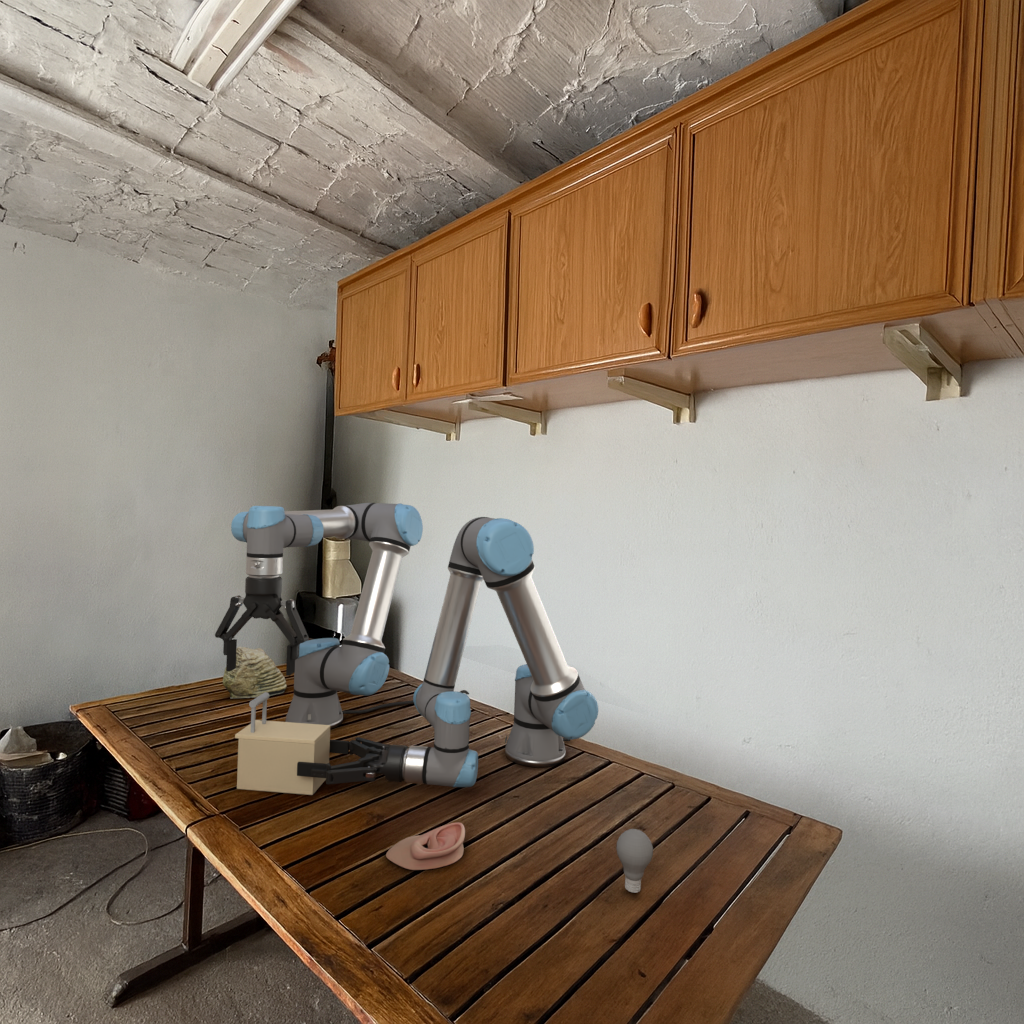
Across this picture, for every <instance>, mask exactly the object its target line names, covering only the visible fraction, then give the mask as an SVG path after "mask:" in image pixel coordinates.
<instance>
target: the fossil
mask: <svg viewBox="0 0 1024 1024" xmlns="http://www.w3.org/2000/svg"><path fill="white" fill-rule="evenodd" d="M222 676H223V677H222V685H223V687H224V688H225V690H226V691H228V693H229V698H230V699H250V698H257V697H258V696H260V695H261V694H263V693H265V692H267V693H269V697H271V696H275V695H281V694H284V693H285V691H286V689H287V687H288V686H287V680H286V678H285V676H284V674H283V673H282V672H281V669H279V668H278V667H277V665H276V663H275V662H274V660H273V659H272V658H271V657H270V656H269V655H268V654H267V653H266V652H265V650H264V649H263V648H260V647H258V648H251V647H247V646H246V647H245V646H237V648H236V668H235V669H234V670H232V671H230V672H229V671H226V667H225V668H224V671H223V675H222Z"/></svg>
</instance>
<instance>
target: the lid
mask: <svg viewBox="0 0 1024 1024" xmlns="http://www.w3.org/2000/svg"><path fill="white" fill-rule="evenodd" d="M268 699H270V696H269V693H267V692H265V693H263V694H261V695H260V696H258V697H254V699H252V700H250V701H249V704H248V705H249V707H250V708H251V709H250V723H249V724H248V725H246V726H245V727H244V728H242V729H241V730H240V731H238V732H236V733H234V738H235V739H238V740H239V739H253V740H266V741H279V742H293V743H306V744H315V743H316V742H317V741H318V740H319V739H320V738H321V737H322V736H323V735H324V734H325V733H326V732H327V731H328V730H329V729H330V725H320V724H306V723H292V722H286V721H279V720H277V721H276V720H267V711H268V710H267V708H268ZM261 704H262V713H261V715H262V716H261V719H256V717H257V715H256V714H257V713H256V712H257V707H258V706H259V705H261ZM330 730H331V729H330Z"/></svg>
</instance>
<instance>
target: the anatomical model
mask: <svg viewBox="0 0 1024 1024" xmlns="http://www.w3.org/2000/svg"><path fill="white" fill-rule="evenodd" d="M465 837H466V828H465V825H464V824H463V823H462V822H458V821H457V822H452V823H448V824H444V825H442V826H441V825H440V826H438V827H436V828H434V829H432V830H429V831H427V832H425V833H423V834H420V835H411V836H407V837H406V838H403V839H401V840H400V841H398V842H397V843H396V844H394V845H392V847H390V848H389V849H388V851H387V852H386V854H385V857H386V859H387V860H389V861H391V862H392V863H393V864H395V865H397V866H399V867H401V868H404V869H406V870H410V871H422V870H423V871H424V870H432V869H433V870H434V869H438V868H442V867H443V868H444V867H447V866H449V865H452V864H454V863H456V862H458V861H459V860H460V859H461V858H462V857H463V855H464V852H465V850H464V841H465Z"/></svg>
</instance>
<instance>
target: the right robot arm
mask: <svg viewBox="0 0 1024 1024" xmlns="http://www.w3.org/2000/svg"><path fill="white" fill-rule="evenodd" d="M534 551H535V545H534V541H533V538H532V535H531V534H530V533H529V531H528V530H527V529H526V528H525V527H524V526H523V525H522V524H520V523H518V522H516V521H514V520H511V519H508V518H502V517H498V518H494V517H488V516H477V517H474V518H471V519H469V521H467V522H466V523H465V524H464V525H463V526H461V528H460V530H459V531H458V533H457V535H456V538H455V539H454V543H453V546H452V550H451V553H450V556H449V560H448V565H447V570H448V571H449V578H448V581H447V586H446V590H445V594H444V598H443V603H442V605H441V610H440V614H439V618H438V622H437V626H436V630H435V633H434V636H433V637H434V638H433V642H432V644H431V645H432V646H431V650H430V653H429V657H428V661H427V665H426V670H425V673H424V677H423V681H422V683H420V684H419V685H418V686H417V688H416V689H415V690H414V693H413V696H412V697H413V698H412V700H413V701H414V703H413V704H414V707H415V708H416V710H417V712H418V713H419V715H420V716H421V717H423V718H424V719H425V720H426V721H427V723H429V725H430V726H431V727H432V728H433V729H434V731H433V732H434V734H433V735H434V738H433V747H431V746H423V745H410V746H409V747H408V746H407V745H405V744H387V743H381V742H378V741H374V740H371V739H367V738H364V737H360V736H358V737H355V739H351V740H350V741H349V740H342V739H341V740H339V739H330V752H329V754H342V755H348V754H349V756H353V755H355V756H357V757H359V758H358V759H357V760H355V761H350V762H345V763H339V764H334V765H331V763H330V762H329V763H327V764H324V763H311V762H298V763H297V776H305V777H318V778H326V780H325V784H326V785H336V784H337V785H338V784H347V783H357V782H375V781H376V775H383V776H384V777H385V780H386V781H387V782H390V783H400V784H401V783H403V782H405V783H408V784H416V785H417V786H420V785H428V786H429V785H431V786H441V787H451V788H473V787H474V785H475V784H476V781H477V777H478V771H479V753H478V752H477V751H476V750H473V749H470V727H471V725H470V724H471V715H472V710H471V699H470V696H469V694H465V693H461V692H460V691H456V690H455V687H456V682H457V679H458V675H459V670H460V667H461V663H462V659H463V655H464V652H465V647H466V643H467V638H468V635H469V632H470V627H471V624H472V619H473V617H474V613H475V607H476V604H477V600H478V596H479V592H480V588H481V585H482V582H483V581H484V583H485V586H486V588H487V589H490V590H492V591H494V592H496V595H497V597H498V599H499V602H500V604H501V607H502V609H503V611H504V614H505V616H506V618H507V621H508V623H509V625H510V627H511V630H512V633H513V635H514V638H515V640H516V642H517V645H518V646H519V649H520V651H521V653H522V656H523V659H524V662H525V664H522V665H518V667H517V668H516V671H515V677H514V709H513V725H512V727H511V729H510V732H509V735H506V736H505V738H504V744H505V749H504V750H505V752H504V754H505V758H507V759H508V760H509V761H511V762H513V763H515V764H517V765H519V766H520V765H521V766H524V767H531V768H549V767H553V766H557V765H559V764H561V763H563V762H564V761H565V759H566V751H567V750H566V745H565V742H571V741H572V740H579V739H581V738H582V737H584V736H586V735H587V734H588V733H589V732H590V731H591V730H592V729H593V727H594V725H595V724H596V720H597V719H598V717H599V703H598V700H597V698H596V697H595V695H594V694H593V693H591V691H590V690H587V689H586V688H585V687H584V685H583V682H582V680H581V677H580V674H579V672H578V670H577V669H576V668H575V667H573V666H570V665H569V664H568V663H567V660H566V658H565V656H564V655H565V654H564V653H563V650H562V647H561V646H560V643H559V641H558V637H557V636H556V633H555V631H554V627H553V626H552V623H551V621H550V618H549V616H548V613H547V611H546V608H545V606H544V604H543V602H542V599H541V596H540V594H539V592H538V589H537V587H536V583H535V581H534V579H533V577H532V576H533V574H534V572H535V569H536V566H535V564H534V561H533V555H534V553H535V552H534Z"/></svg>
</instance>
